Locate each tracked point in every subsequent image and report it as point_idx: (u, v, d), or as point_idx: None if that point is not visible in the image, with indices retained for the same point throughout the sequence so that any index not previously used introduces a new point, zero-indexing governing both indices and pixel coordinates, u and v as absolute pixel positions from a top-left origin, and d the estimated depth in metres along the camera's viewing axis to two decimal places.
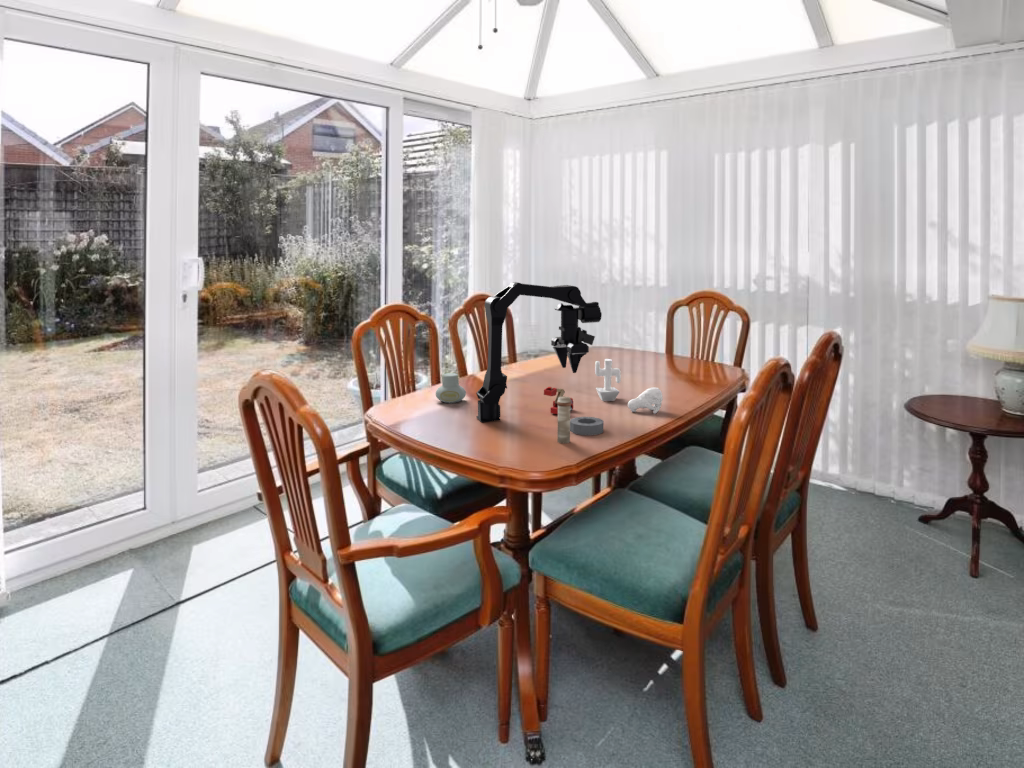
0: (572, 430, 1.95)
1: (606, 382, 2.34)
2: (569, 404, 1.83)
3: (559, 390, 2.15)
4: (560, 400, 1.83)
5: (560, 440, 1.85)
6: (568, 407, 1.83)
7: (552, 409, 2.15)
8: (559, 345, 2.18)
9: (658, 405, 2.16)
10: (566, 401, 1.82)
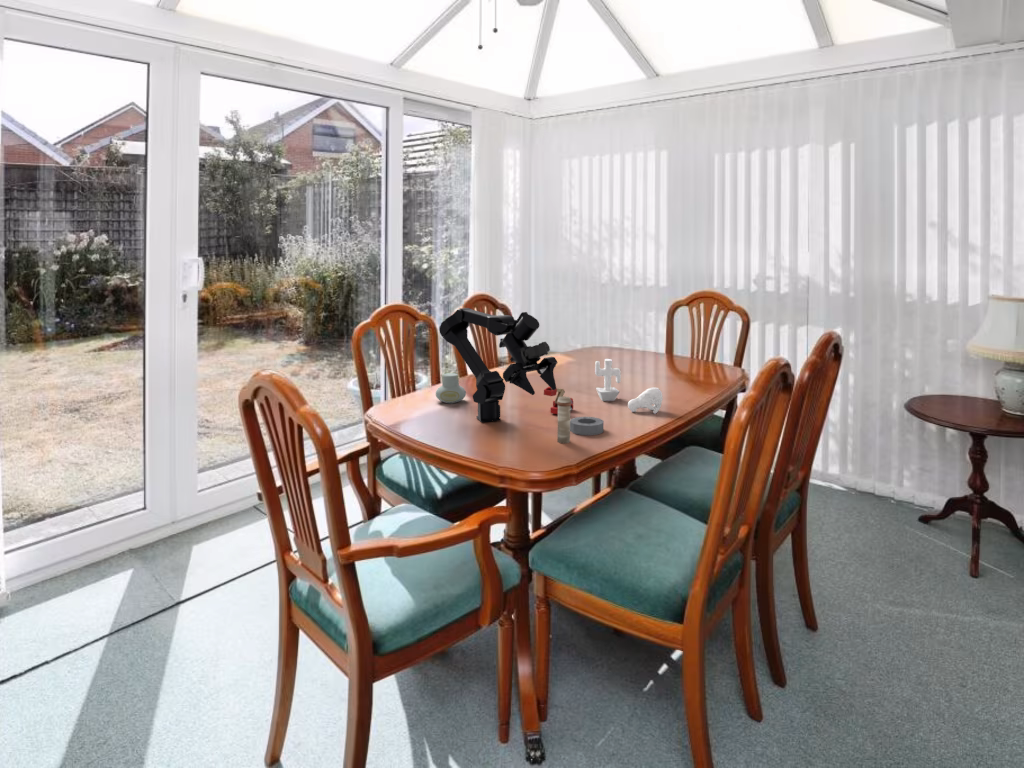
0: (572, 430, 1.95)
1: (606, 382, 2.34)
2: (569, 404, 1.83)
3: (559, 390, 2.15)
4: (560, 400, 1.83)
5: (560, 440, 1.85)
6: (568, 407, 1.83)
7: (552, 409, 2.15)
8: (542, 371, 1.97)
9: (658, 405, 2.16)
10: (566, 401, 1.82)
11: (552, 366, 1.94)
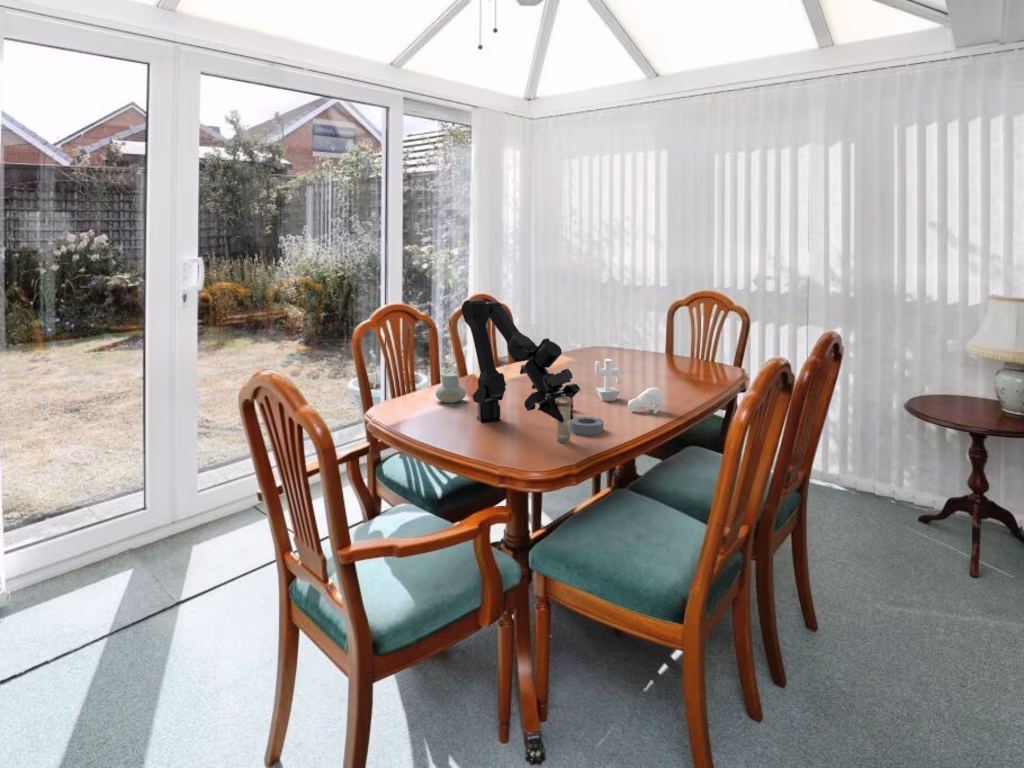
0: (572, 430, 1.95)
1: (606, 382, 2.34)
2: (569, 404, 1.83)
3: None
4: (560, 400, 1.83)
5: (560, 440, 1.85)
6: (568, 407, 1.83)
7: None
8: None
9: (658, 405, 2.16)
10: (566, 401, 1.82)
11: (569, 395, 1.87)
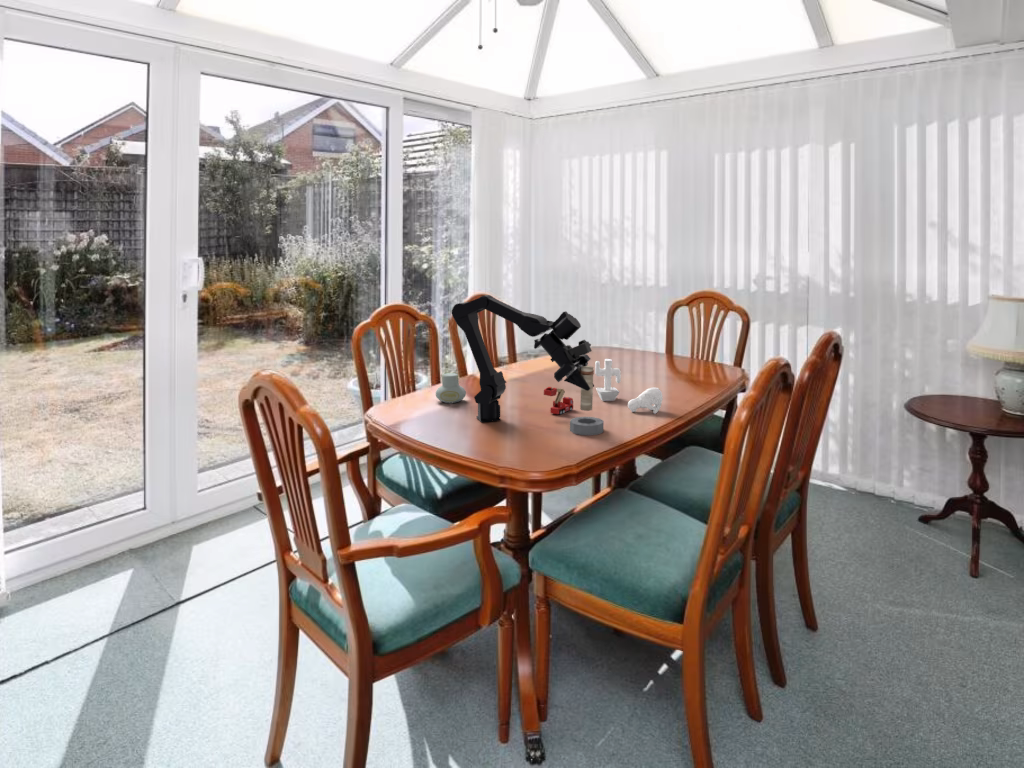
0: (572, 430, 1.95)
1: (606, 382, 2.34)
2: (593, 372, 1.92)
3: (559, 390, 2.15)
4: (586, 369, 1.91)
5: (585, 408, 1.93)
6: (592, 375, 1.92)
7: (552, 409, 2.15)
8: None
9: (658, 405, 2.16)
10: (591, 370, 1.91)
11: (586, 365, 1.96)
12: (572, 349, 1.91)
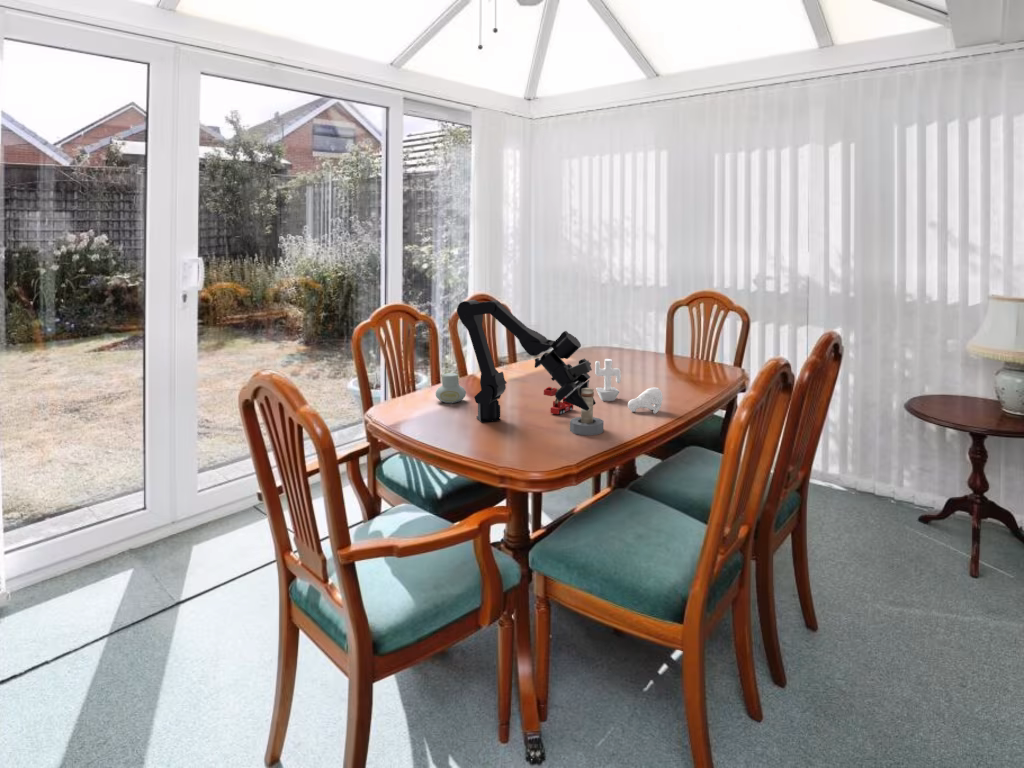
0: (572, 430, 1.95)
1: (606, 382, 2.34)
2: (593, 394, 1.94)
3: None
4: (586, 391, 1.93)
5: None
6: (592, 397, 1.94)
7: (552, 409, 2.15)
8: (576, 388, 2.01)
9: (658, 405, 2.16)
10: (591, 392, 1.93)
11: (588, 382, 1.99)
12: (573, 368, 1.93)
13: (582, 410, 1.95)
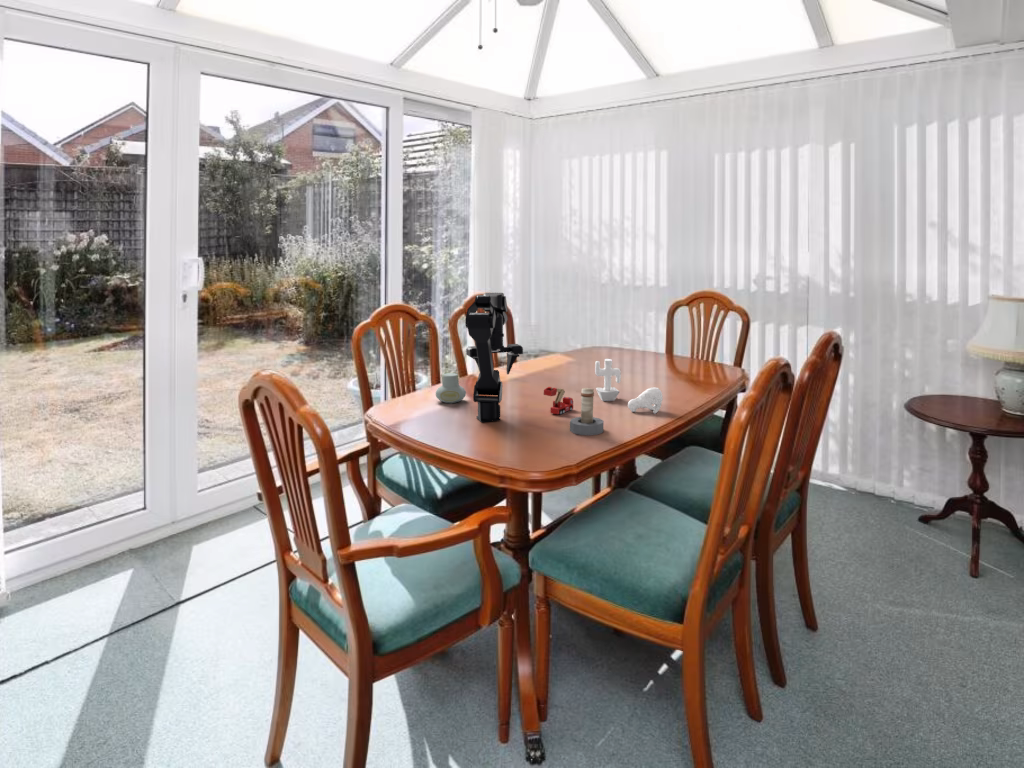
0: (572, 430, 1.95)
1: (606, 382, 2.34)
2: (593, 394, 1.94)
3: (559, 390, 2.15)
4: (586, 391, 1.93)
5: None
6: (592, 397, 1.94)
7: (552, 409, 2.15)
8: None
9: (658, 405, 2.16)
10: (591, 392, 1.93)
11: None
12: None
13: (582, 410, 1.95)
